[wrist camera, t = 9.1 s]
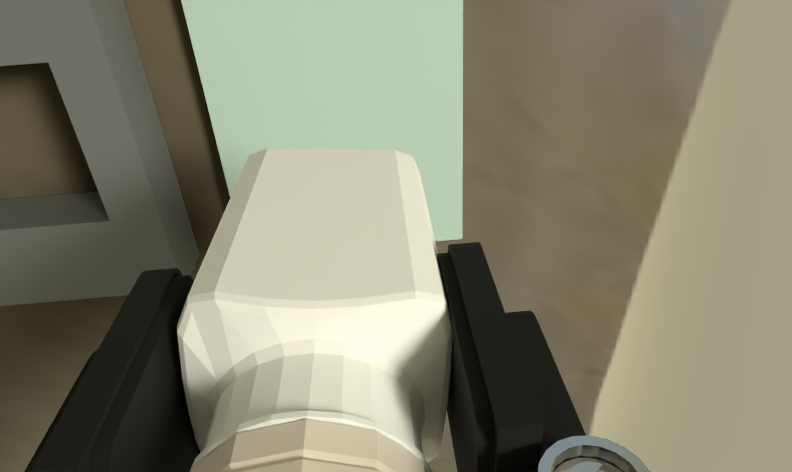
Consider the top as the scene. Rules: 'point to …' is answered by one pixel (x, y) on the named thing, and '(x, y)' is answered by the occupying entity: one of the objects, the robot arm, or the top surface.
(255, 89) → the mat
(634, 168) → the top surface
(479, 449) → the robot arm
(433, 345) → the salt shaker
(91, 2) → the frame
